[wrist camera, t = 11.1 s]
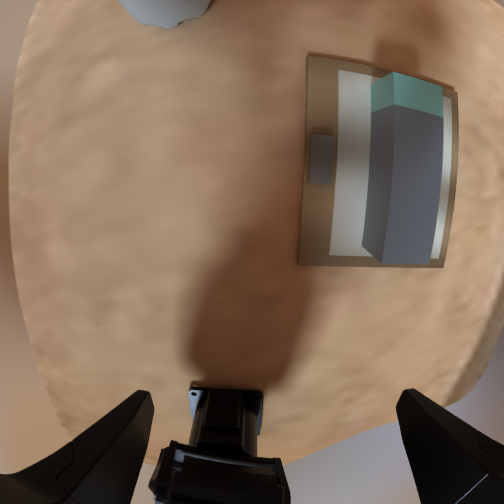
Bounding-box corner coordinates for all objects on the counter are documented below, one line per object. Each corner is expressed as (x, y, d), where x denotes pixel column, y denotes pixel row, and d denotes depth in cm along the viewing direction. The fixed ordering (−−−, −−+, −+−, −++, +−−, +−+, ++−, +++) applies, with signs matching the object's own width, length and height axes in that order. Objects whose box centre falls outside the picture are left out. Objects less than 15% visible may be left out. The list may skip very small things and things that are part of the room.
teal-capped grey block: (404, 247, 19) (429, 264, 16) (361, 246, 19) (381, 263, 15) (414, 95, 16) (442, 86, 12) (370, 84, 16) (393, 71, 12)
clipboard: (440, 265, 20) (447, 270, 19) (297, 262, 20) (299, 268, 19) (453, 93, 16) (461, 91, 15) (306, 58, 16) (309, 52, 15)
